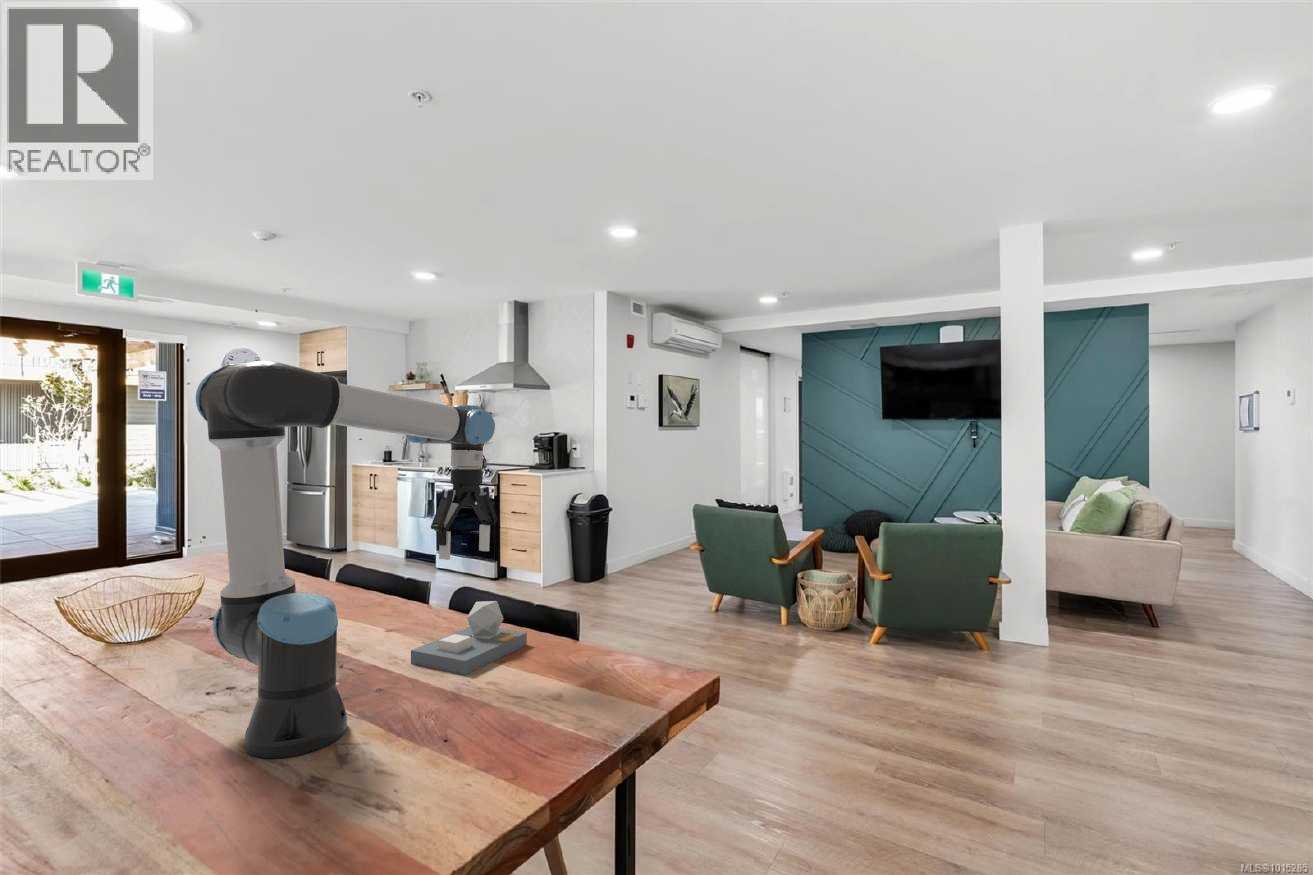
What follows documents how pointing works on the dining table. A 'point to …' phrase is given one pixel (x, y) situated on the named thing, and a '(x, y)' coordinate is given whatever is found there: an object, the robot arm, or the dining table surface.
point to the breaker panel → (469, 651)
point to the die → (485, 618)
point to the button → (455, 643)
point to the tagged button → (487, 636)
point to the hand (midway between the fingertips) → (465, 554)
